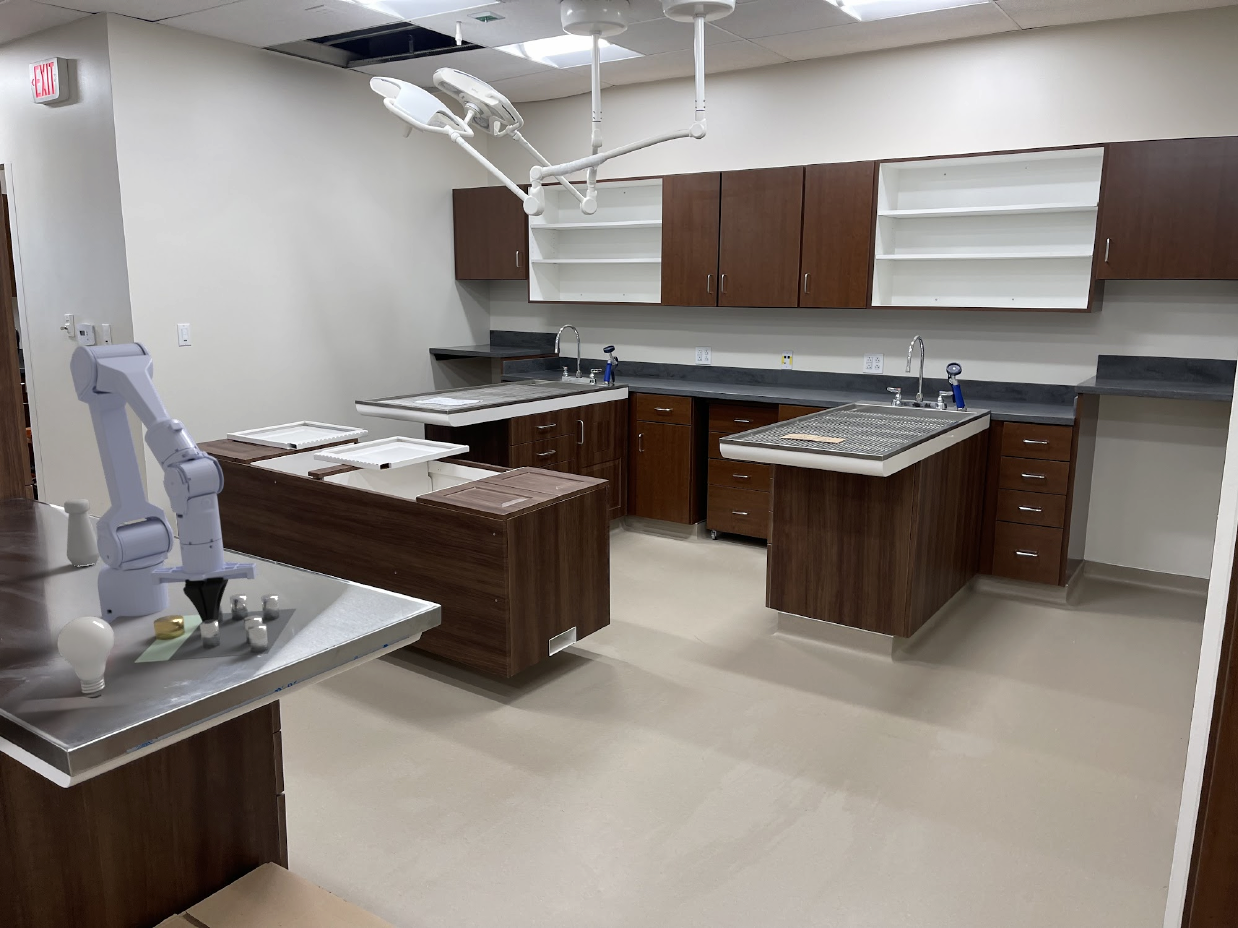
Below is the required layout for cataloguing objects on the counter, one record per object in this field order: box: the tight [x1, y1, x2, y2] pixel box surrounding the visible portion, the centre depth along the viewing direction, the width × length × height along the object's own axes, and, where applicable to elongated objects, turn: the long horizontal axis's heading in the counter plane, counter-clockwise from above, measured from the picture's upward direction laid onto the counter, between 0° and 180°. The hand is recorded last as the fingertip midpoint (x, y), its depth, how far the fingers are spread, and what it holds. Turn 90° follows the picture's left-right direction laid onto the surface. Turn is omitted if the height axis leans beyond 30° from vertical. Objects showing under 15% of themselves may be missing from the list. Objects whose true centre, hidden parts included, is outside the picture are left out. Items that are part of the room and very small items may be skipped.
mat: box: [133, 608, 297, 664], centre depth 136 cm, size 18×18×1 cm
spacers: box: [200, 593, 280, 653], centre depth 135 cm, size 12×16×4 cm
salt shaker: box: [63, 498, 100, 567], centre depth 175 cm, size 6×6×13 cm
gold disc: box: [153, 614, 185, 640], centre depth 135 cm, size 4×4×2 cm
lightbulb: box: [57, 615, 116, 699], centre depth 117 cm, size 6×6×11 cm
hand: (211, 625), depth 136 cm, fingers closed
